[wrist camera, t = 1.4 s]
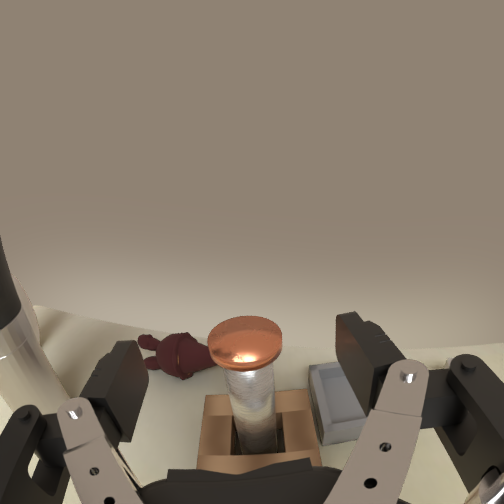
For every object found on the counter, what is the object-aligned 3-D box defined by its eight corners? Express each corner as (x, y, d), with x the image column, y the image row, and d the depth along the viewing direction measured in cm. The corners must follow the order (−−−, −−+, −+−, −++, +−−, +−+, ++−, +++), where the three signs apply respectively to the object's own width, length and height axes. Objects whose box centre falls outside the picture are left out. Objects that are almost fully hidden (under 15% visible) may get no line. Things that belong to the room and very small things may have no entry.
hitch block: (202, 493, 23) (194, 481, 22) (210, 412, 34) (205, 395, 33) (320, 487, 23) (323, 474, 22) (306, 406, 34) (307, 388, 33)
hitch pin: (234, 469, 26) (203, 363, 20) (235, 431, 31) (211, 318, 25) (286, 467, 26) (285, 358, 20) (282, 428, 31) (278, 313, 25)
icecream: (237, 324, 42) (148, 323, 45) (220, 346, 35) (121, 340, 38) (243, 367, 42) (157, 361, 46) (228, 394, 35) (133, 382, 39)
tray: (322, 445, 28) (324, 432, 27) (308, 380, 38) (309, 365, 37) (416, 424, 28) (423, 409, 27) (389, 367, 38) (393, 352, 37)
